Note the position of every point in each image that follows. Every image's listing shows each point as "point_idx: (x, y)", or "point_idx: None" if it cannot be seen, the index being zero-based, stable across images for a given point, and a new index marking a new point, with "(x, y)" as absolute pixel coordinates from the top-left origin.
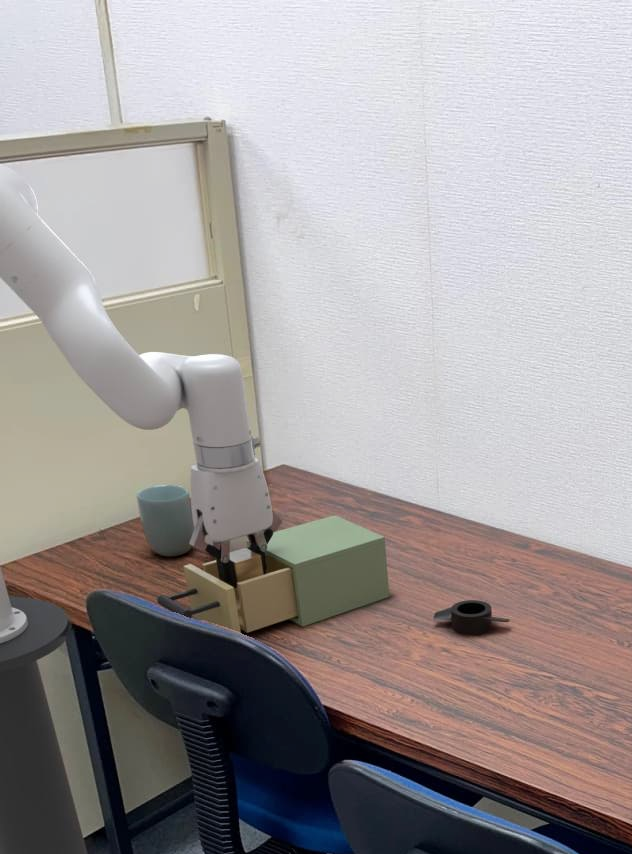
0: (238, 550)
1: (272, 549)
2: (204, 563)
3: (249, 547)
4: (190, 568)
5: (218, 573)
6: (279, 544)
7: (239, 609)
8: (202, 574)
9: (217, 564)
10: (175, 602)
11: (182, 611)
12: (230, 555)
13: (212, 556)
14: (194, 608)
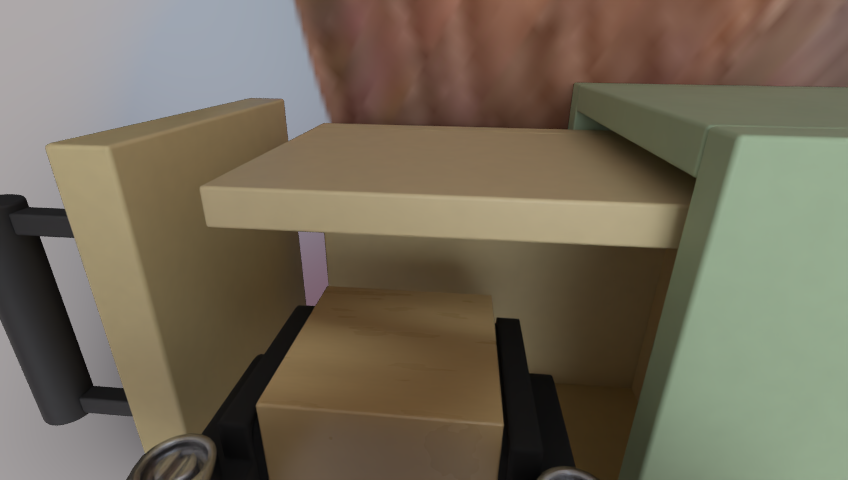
0: (420, 433)
1: (688, 469)
2: (217, 192)
3: (523, 458)
4: (82, 234)
5: (243, 374)
6: (818, 435)
7: (398, 247)
8: (129, 368)
9: (210, 428)
10: (22, 331)
11: (40, 410)
12: (314, 462)
13: (157, 446)
14: (101, 404)
